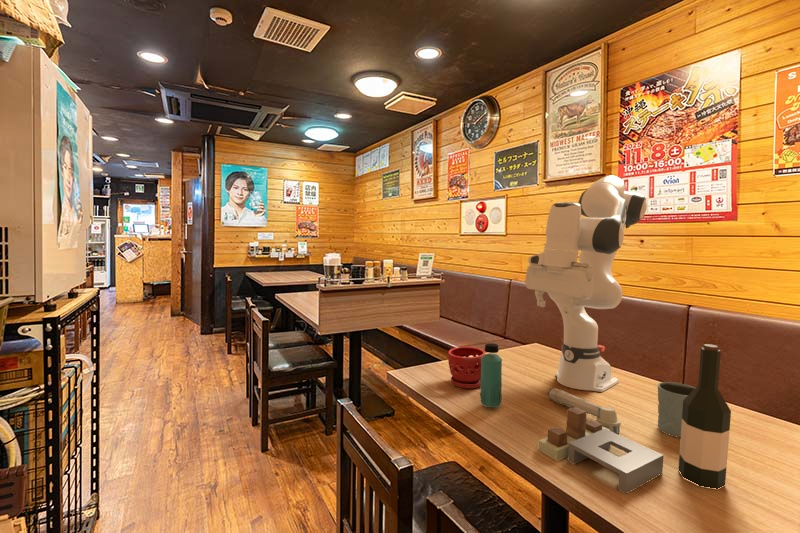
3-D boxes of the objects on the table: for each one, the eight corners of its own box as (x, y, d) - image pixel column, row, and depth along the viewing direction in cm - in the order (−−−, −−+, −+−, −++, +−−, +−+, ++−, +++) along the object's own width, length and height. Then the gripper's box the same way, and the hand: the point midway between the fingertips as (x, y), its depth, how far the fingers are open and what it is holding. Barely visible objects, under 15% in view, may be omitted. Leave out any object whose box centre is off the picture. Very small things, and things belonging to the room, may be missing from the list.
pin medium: (555, 447, 102) (556, 426, 102) (566, 453, 99) (567, 431, 99) (547, 450, 101) (547, 429, 100) (557, 456, 98) (558, 434, 97)
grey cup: (647, 425, 114) (649, 384, 113) (670, 419, 118) (673, 379, 117) (684, 443, 104) (687, 398, 103) (708, 435, 108) (711, 392, 107)
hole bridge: (604, 445, 103) (605, 428, 103) (662, 474, 91) (663, 455, 91) (567, 460, 96) (568, 442, 96) (625, 493, 84) (626, 473, 84)
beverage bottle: (501, 413, 121) (503, 347, 119) (479, 411, 122) (480, 346, 121) (500, 404, 127) (502, 342, 126) (479, 402, 129) (481, 340, 127)
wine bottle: (669, 468, 93) (677, 340, 91) (702, 466, 94) (712, 340, 91) (698, 491, 85) (709, 351, 82) (735, 489, 86) (747, 351, 83)
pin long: (573, 440, 106) (575, 406, 105) (584, 445, 103) (586, 411, 102) (565, 443, 104) (567, 409, 103) (576, 449, 101) (578, 414, 101)
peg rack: (591, 430, 111) (591, 421, 111) (609, 439, 106) (610, 429, 106) (538, 450, 101) (538, 440, 100) (556, 460, 96) (557, 450, 96)
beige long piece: (558, 386, 133) (624, 406, 109) (559, 406, 133) (625, 431, 109) (545, 388, 131) (609, 409, 108) (546, 409, 131) (611, 435, 107)
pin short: (590, 433, 109) (591, 419, 109) (601, 439, 106) (602, 424, 106) (583, 436, 108) (583, 422, 107) (594, 442, 105) (594, 427, 104)
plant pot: (462, 374, 153) (462, 343, 152) (492, 384, 144) (493, 351, 143) (440, 383, 144) (440, 350, 143) (470, 394, 135) (471, 359, 134)
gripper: (601, 264, 104) (594, 317, 105) (539, 258, 122) (534, 303, 123) (585, 263, 101) (578, 318, 102) (524, 257, 119) (519, 303, 120)
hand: (554, 310), depth 113 cm, fingers open, 8 cm apart
